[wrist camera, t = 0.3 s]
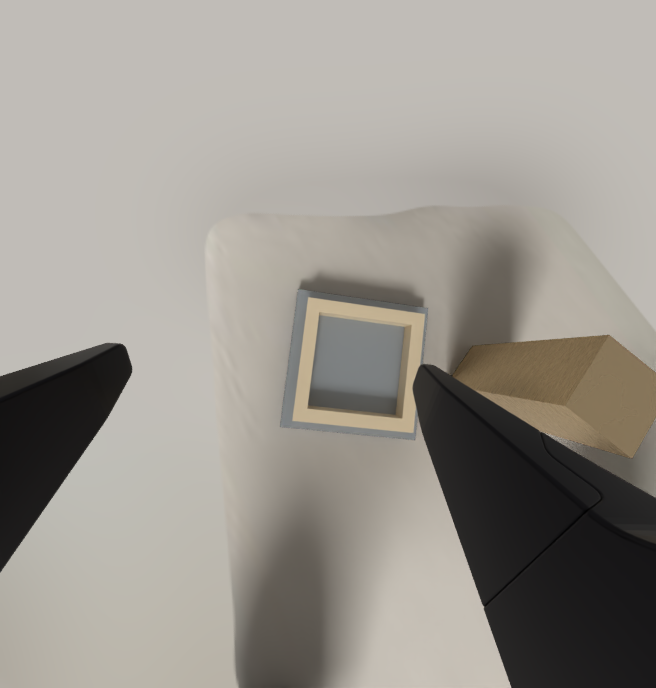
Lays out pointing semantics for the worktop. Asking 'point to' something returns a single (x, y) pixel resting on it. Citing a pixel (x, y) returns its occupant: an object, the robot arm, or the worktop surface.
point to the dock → (353, 366)
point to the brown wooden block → (569, 388)
